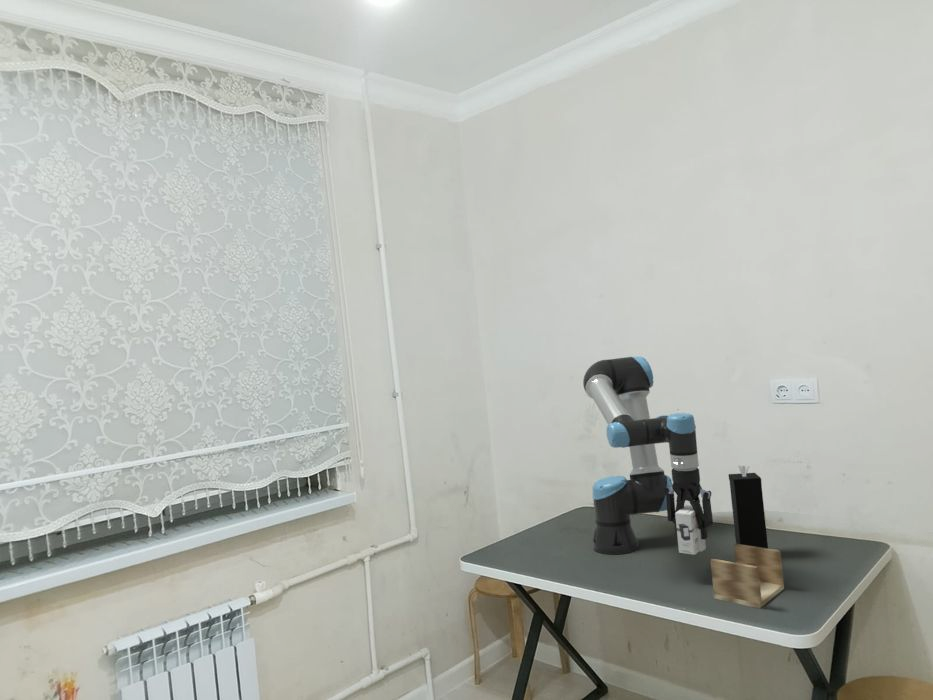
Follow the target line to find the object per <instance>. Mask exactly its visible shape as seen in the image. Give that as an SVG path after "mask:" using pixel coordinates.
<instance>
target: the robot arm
mask: <svg viewBox="0 0 933 700" xmlns="http://www.w3.org/2000/svg"><path fill="white" fill-rule="evenodd" d="M582 382H583V389H584V391H585V393H586V395H587V396H588V397H589V398H591V399H592V400H593V401H594V403H595V405H596V406H597V408H598V410H599V411H600V413H601V415H602V416H603V418H604V420H605V421H606V424H607V426H606V437H607V441H608V444H609V446H610V447H611V448H613V449H614V448H616V449H617V448H624V449H625V448H627V447H629V453H630V459H631V466H632V470H631V471H630V473H629V479H627V478H626V476H624V475H623V476H622V475H616V476H615V475H612V476H608V477H605V478H602V479H601V478H600V479H598V480H597V481H596V482H594V484H593V485H592V499H593V508H594V509H593V510H594V517H595V519H594V520H595V529H594V534H593V539H592V549H593V550H594V551H595V552H597V553H601V554H605V555H622V554H623V555H624V554H628V553H632V552H635V551H637V550H638V549H639V539H638V537H637V536H636V532H635V530H634V528H633V526H632V522H631V516H633V515H640V514H651V513H660V512H666V515H667V521H668V522H670V523H673V525H674V530H675V531H674V532H675V536H677V527H676V517H675V513H676V512H677V511H679V510H680V509H682V508H684V506H685V503H686V501H687V502H689V504H690V505H692V507H693V510H694V511H695V515H696V519H697V522H698V525H699V527H698V528H697V537H698V548H699V552H701V553H702V552H703V551H705V550H706V549H707V548H706V545H705V544H706V539H708V528H710V527H711V526H713V525H714V520H713V518H714V517H713V513H712V512H713V511H712V503H711V497H712V491H711V490H705V489H703V487H702V486H701V483H700V482H701V477H700V469H699V468H698V467H699V466H700V465H699V464H700V463H699V455H698V454H699V453H698V445H697V432H696V430H697V429H696V428H697V427H696V424H695V423H696V422H695V417H694V415H693V414H691V413H687V412H680V413H679V412H677V413H676V412H675V413H671V414H669V415H667V414H666V415H664V414H663V415H658V416H657V417H653V418H651V417H650V411H649V406H648V401H647V400H648V399H647V397H648V395H649V394H650V392H651V391H650V389H651V388H652V387H653V386H654V374H653V370H652V367H651V366H650V364H649V362H648V361H647V359H646V358H644V357H643V356H628V357H619V358H612V359H610V358H609V359H602V360H598V361H596V362H594V363H593V364H592V365H590V366H589V368H587V370H586V372H585V374H584V376H583V381H582ZM662 443H663V444H664V443H668V448H669V457H670V467H671V468H672V469H671V477H670V476H669V475H666V474H665V470H664V469H663V468H661V467H660V466H659V463H658V455H657V451H656V445H655V444H662ZM675 494H676V499H675ZM699 496H700V497H701V498H702V501H701V500H700V497H699ZM675 502H676V503H675ZM701 502H702V504H701ZM701 507H702V508H701ZM702 510H703V511H702Z"/></svg>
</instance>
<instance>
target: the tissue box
mask: <svg viewBox="0 0 933 700" xmlns="http://www.w3.org/2000/svg"><path fill="white" fill-rule="evenodd" d="M749 468H750V466H749V465H748V466H747V465H738V469H739V471H740V473H729V474H728V480H729V489H730V490H729V491H730V498H731V507H732V517H733V518H732V519H733V526H734V527H733V528H734V537H735V544H741V545H748V546H754V547H761V548H767V549H769V545H768V537H767V536H768V535H767V534H768V533H767V525H766V515H765V506H764V498H763V497H764V496H763V487H762V485H763V484H762V478H761V476H760V475H758V474H757V473H756V472H748V471H749Z"/></svg>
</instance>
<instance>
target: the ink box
mask: <svg viewBox="0 0 933 700" xmlns="http://www.w3.org/2000/svg"><path fill="white" fill-rule="evenodd" d="M701 508H702V511H703V506H701ZM675 517H676V527H677V535H676V536H677V547H678V553H679V554H680V553H681V554H685V555H686V554H687V555H694V556H695V555H696V554H698V553H699V552H700V551H699V548H698V537H697V528H698V527H699V525H698V522H697V519H696V515H695V511H694V510H693V507H692V505H691V504H690V505H689V504H686V505H684V508H682V509H680V510H679V511H677V512H676V513H675ZM705 545H706V543H705Z"/></svg>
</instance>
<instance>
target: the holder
mask: <svg viewBox="0 0 933 700" xmlns="http://www.w3.org/2000/svg"><path fill="white" fill-rule="evenodd" d="M733 545H734V557H735V562H733V561H728V560H722V559H717V558H711V559H710V560H709V561H710V569H711V579H712V588H713V589H712V590H713V598H714V599H716V600H718V601H719V600H720V601H724V602H725V601H726V602H729V603H733V604H738V605H742V606H748V607H752V608H757V609H762V608H763V607H764V606H765V605H767V603H769V602H770V601H771V600H772V599H773V598H775V597H776V596H777V595H778V594H780V593H781V592H782V591H783V590H785V583H784V572H783V564H782V552H781V550H779V549H772V548H768V549H767V548H761V547H754V546H748V545H741V544H736V543H735V544H733Z"/></svg>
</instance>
